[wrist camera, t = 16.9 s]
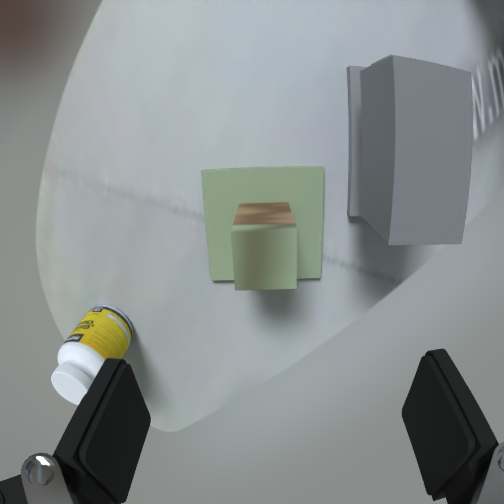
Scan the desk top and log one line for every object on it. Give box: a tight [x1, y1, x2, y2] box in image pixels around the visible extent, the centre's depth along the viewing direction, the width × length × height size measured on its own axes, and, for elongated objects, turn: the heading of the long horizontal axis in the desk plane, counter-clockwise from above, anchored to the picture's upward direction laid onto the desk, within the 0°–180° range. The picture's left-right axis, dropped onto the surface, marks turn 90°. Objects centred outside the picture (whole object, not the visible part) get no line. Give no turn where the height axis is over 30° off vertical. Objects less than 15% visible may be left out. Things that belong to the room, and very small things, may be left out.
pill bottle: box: [51, 305, 133, 405], centre depth 31 cm, size 6×6×12 cm
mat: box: [201, 167, 324, 280], centre depth 30 cm, size 11×11×1 cm
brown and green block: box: [231, 202, 297, 290], centre depth 26 cm, size 4×4×8 cm
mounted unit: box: [347, 55, 473, 245], centre depth 22 cm, size 6×14×11 cm, turn 2°
